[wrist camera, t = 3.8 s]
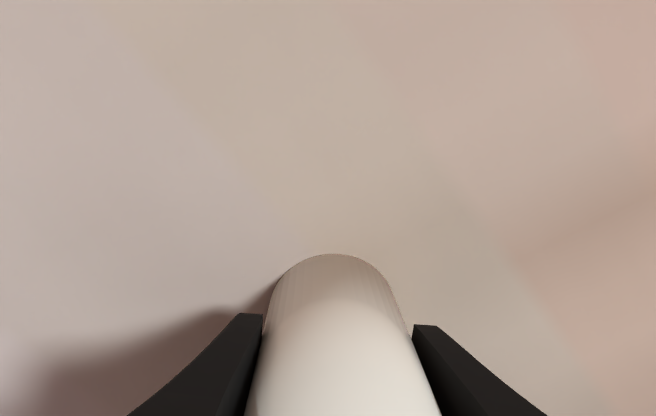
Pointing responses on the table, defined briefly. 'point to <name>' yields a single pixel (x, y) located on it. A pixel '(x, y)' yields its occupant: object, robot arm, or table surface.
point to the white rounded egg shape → (337, 347)
